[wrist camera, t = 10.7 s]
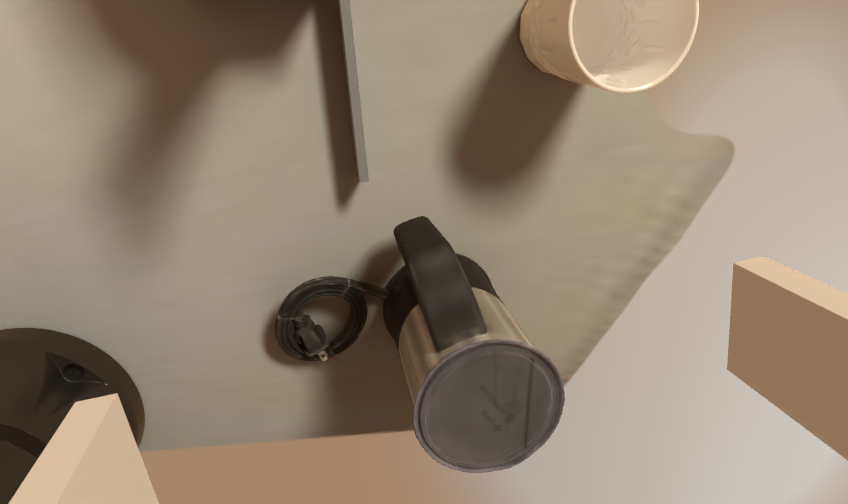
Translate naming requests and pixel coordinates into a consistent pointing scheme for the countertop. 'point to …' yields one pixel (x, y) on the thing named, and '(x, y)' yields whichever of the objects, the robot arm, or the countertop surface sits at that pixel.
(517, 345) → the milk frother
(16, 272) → the countertop surface
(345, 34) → the frame
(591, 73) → the white cup
